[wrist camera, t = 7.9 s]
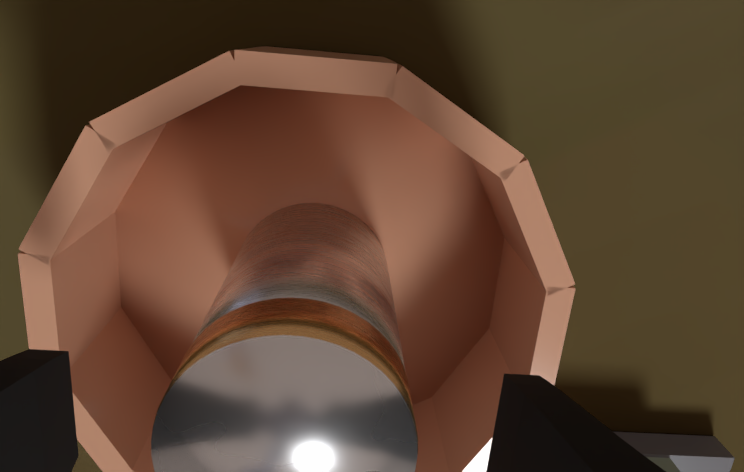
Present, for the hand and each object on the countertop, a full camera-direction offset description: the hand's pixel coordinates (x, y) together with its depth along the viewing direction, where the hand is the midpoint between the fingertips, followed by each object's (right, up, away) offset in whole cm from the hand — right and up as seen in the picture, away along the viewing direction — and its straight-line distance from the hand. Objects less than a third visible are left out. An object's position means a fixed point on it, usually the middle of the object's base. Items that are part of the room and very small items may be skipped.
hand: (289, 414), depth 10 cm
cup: (0, +2, +6) cm, 7 cm away
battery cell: (0, +2, +6) cm, 6 cm away
